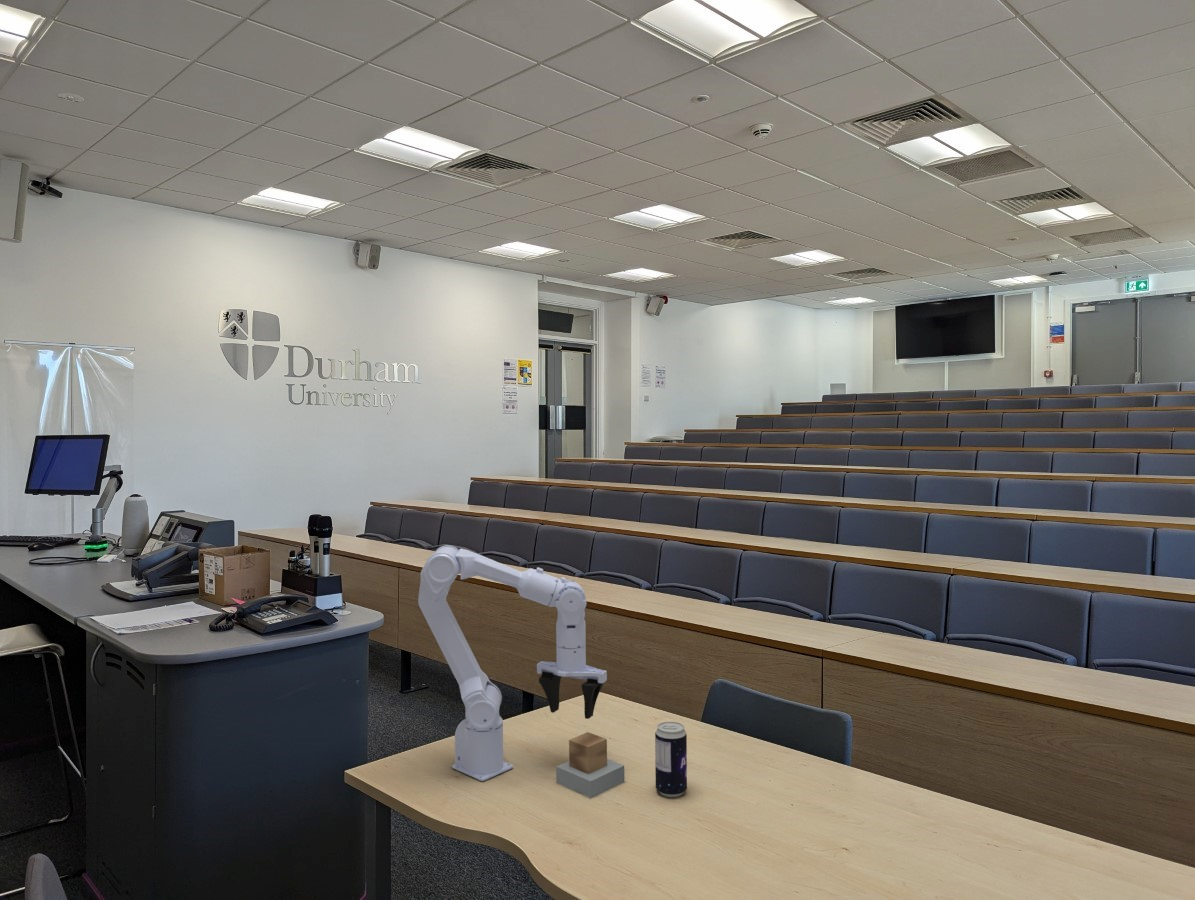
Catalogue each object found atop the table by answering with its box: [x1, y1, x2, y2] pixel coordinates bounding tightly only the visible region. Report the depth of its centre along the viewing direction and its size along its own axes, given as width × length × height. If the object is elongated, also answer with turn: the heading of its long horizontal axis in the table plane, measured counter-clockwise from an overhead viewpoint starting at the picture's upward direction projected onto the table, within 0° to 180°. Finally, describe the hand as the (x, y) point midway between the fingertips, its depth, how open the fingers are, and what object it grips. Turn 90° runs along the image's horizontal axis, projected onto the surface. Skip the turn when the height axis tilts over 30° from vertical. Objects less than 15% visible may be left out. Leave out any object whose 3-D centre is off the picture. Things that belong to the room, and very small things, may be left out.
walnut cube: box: [568, 731, 608, 774], centre depth 146 cm, size 5×5×5 cm
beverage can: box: [654, 721, 688, 798], centre depth 142 cm, size 6×6×12 cm
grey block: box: [555, 758, 625, 799], centre depth 146 cm, size 9×9×4 cm
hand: (571, 713), depth 153 cm, fingers open, 7 cm apart
